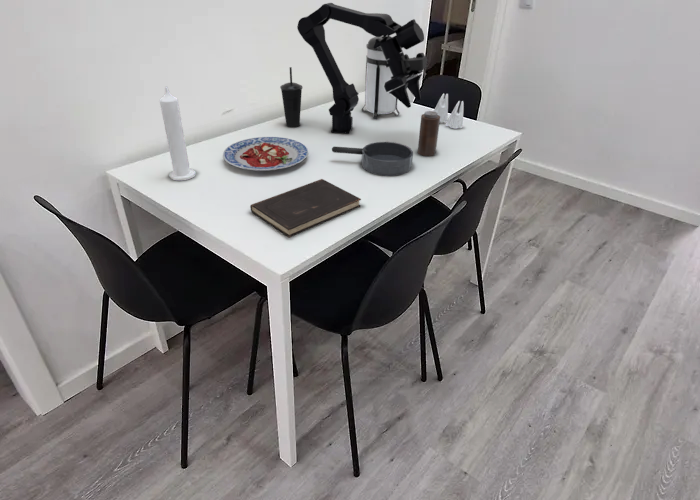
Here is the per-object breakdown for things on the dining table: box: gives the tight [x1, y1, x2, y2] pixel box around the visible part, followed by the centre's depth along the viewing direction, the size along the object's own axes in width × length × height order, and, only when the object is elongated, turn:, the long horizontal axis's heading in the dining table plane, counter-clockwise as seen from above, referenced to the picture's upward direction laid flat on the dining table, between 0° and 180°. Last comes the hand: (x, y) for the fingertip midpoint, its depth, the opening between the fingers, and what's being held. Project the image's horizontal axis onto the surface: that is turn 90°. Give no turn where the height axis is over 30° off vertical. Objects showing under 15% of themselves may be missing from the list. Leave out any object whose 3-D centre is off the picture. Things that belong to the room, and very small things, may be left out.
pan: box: [361, 141, 414, 177], centre depth 146 cm, size 15×15×4 cm
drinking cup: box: [279, 66, 303, 128], centre depth 169 cm, size 8×8×20 cm
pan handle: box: [331, 146, 367, 156], centre depth 147 cm, size 11×2×2 cm, turn 82°
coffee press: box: [361, 35, 401, 120], centre depth 180 cm, size 17×16×30 cm
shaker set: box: [433, 93, 465, 130], centre depth 175 cm, size 12×4×11 cm, turn 48°
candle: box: [159, 86, 196, 182], centre depth 131 cm, size 7×7×25 cm
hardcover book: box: [249, 178, 362, 238], centre depth 123 cm, size 16×23×2 cm
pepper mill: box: [417, 110, 440, 157], centre depth 153 cm, size 6×6×13 cm
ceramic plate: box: [222, 136, 309, 172], centre depth 149 cm, size 26×26×3 cm
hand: (414, 103), depth 155 cm, fingers open, 9 cm apart
